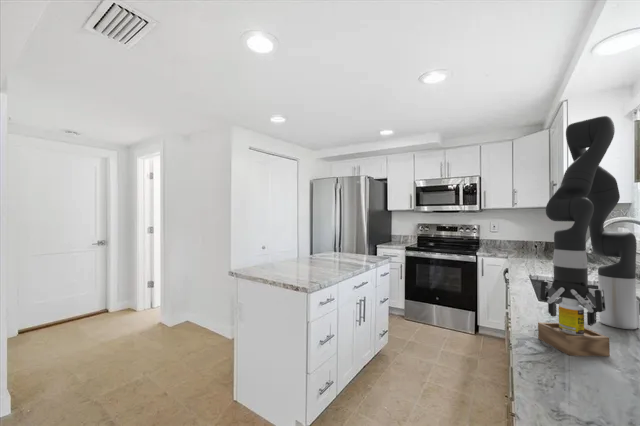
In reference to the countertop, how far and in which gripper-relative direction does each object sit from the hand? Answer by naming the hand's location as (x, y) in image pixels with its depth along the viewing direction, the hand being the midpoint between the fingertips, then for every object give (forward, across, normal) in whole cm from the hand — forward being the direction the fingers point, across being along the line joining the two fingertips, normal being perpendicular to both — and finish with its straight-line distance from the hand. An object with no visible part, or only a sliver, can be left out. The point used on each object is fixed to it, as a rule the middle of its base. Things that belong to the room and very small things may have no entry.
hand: (571, 320), depth 82 cm
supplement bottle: (+4, 0, 0) cm, 4 cm away
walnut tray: (+8, 0, 0) cm, 8 cm away
